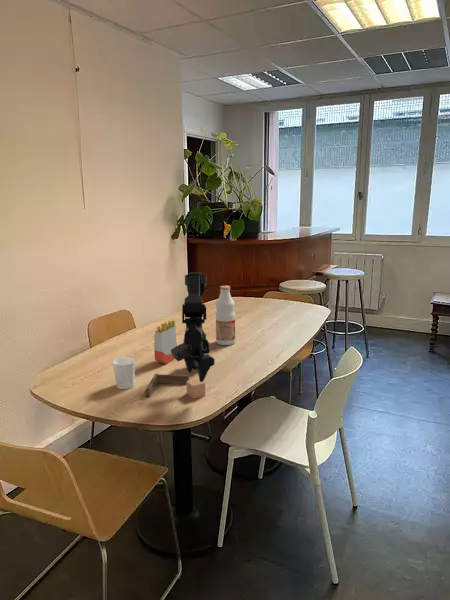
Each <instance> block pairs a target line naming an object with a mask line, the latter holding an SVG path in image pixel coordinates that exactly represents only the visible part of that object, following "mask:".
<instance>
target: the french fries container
mask: <svg viewBox="0 0 450 600" xmlns="http://www.w3.org/2000/svg"><path fill="white" fill-rule="evenodd" d="M160 325H161V326H157V329H156V330H155V333H154V335H153V341H154V342H153V343H154V345H153V346H154V351H153V352H154V353H153V354H154V360H155V361H156V362H158V363H159V364H165V365H168V364H169V363H171V362H173V361H174V360H175V359H174V357H173V355H172V353H171V349H173V348H175V347H176V346H178V345H177V326H176V320H174V319H172V320H168V321H167V322H164V323H162V322H161V324H160Z"/></svg>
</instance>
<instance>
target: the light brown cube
mask: <svg viewBox="0 0 450 600" xmlns="http://www.w3.org/2000/svg"><path fill="white" fill-rule="evenodd" d="M186 382H187V384H186V394H187V395H188V396H189V397H190V398H191V399H192V400H194V399H198V398H201V397H205V396H206V382H205V381H203V382H200V380H199V377H197V378H193V379H189V381H186Z"/></svg>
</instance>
